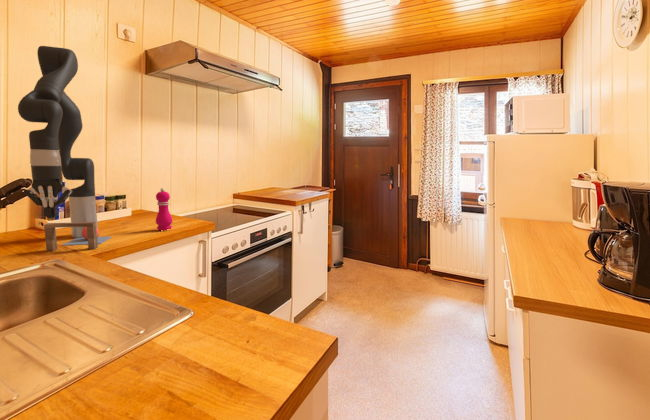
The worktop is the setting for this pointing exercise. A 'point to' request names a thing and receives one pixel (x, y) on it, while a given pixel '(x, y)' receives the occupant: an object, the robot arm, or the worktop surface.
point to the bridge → (51, 231)
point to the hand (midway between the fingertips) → (51, 218)
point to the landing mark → (85, 241)
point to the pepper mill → (163, 211)
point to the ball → (84, 233)
